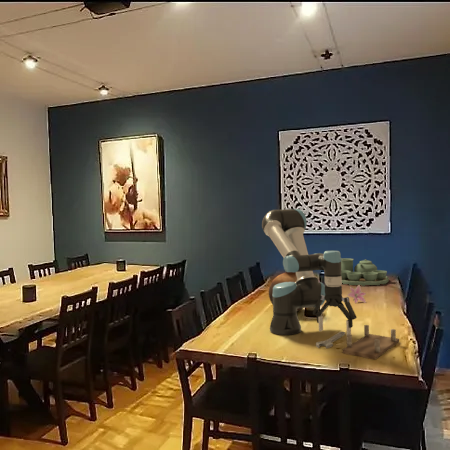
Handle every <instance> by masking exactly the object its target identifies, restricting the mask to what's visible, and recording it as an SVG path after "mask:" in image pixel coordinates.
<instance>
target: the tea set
mask: <svg viewBox="0 0 450 450" xmlns="http://www.w3.org/2000/svg"><path fill="white" fill-rule="evenodd" d="M354 260H355V259H354V258H347V257H346V258H342V257H341V278H342V283H343V284H342V285H344V284H349V285H348V286H350V285H362V286H361V287H366V286H365V285H377V286H381V285H380V284H383V285H386V284H387V283H389V281H390V278H389V277H388V276H387V274H388V271H387V270H381V269H378V267H377V266H376V265H375V264H374V263H373V261H372V260H367V259H362V260H360V261H359V263H357V264H356V265H354Z"/></svg>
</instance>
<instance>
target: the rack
mask: <svg viewBox="0 0 450 450" xmlns="http://www.w3.org/2000/svg"><path fill="white" fill-rule="evenodd" d="M363 330H364V332H363V333H364V336H363V337H361V338H359V339H357V340H356V341H354V342H353V335H352V334H350V335H347V334H346V346H345V347H344V348H343V349H341V350H342V351H341V353H342V354H346V355H351V356H356V357H361V358H365V359H366V358H367V359H370V360H377V359H379V358H380V357H381V356H382V355H384V354H385V353H388V351H390V350H391V349H392V348H393V347H395V346H396V345H397V344H399V343H400V338H396V337H397V333H396V332H397V331H396V330H397V329H394V328H391V329H390V336H384V335H377V334H371V333H370V326H369V325H368V324H365V325H364V327H363Z"/></svg>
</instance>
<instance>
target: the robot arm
mask: <svg viewBox="0 0 450 450" xmlns="http://www.w3.org/2000/svg"><path fill="white" fill-rule="evenodd" d="M307 221H308V220H307V216H306V214H305V212H304V211H303V210H301V209H299V208H298V209H295V208H288V209H287V208H286V209H272V210H269V211H268V212H266V214H265V215H264V217H263V218H262V221H261V228H262V230H263V233H264V234H265V235H266V236H268V237H269V238H270V240H271V241H272V242H273V244H274V246H275V247H276V249H277V250H278V252H279V253H280V255H281V256H282V257H283V260H282V266H283V270H284V271H285V272H296V276H297V281H296V282H283V283H279V284H276V285H275V286H274V287H273V294H272V296H273V305H272V312H273V313H272V319H271V322H270V325H269V332H270V333H272V334H275V335H281V336H289V335H298V334H299V333H301V332H302V326H301V325H302V324H301V322H300V319H299V317H298V311H297V309H298V308H303V309H306V308H314V309H313V311H312V315H313V316H316V323H317V324H318V332H322V331H324V316H323V315H322V314H323V313H324V312H325V311H326V310H327V308H328V307H334V308H338V309H339V310H340V311H341V313H343V315H344V316H345V318H346V323H345V325H346V327H345V328H346V336H347V335H352V328H353V326H354V325H353V321H354V320H356V319H357V318H358V317H357V315H356V312H355V310H354V308H353V306H352V303H351V302H350V296H346V297H343V287H342V285H343V284H342V278H341V259H342V257H341V252H340V251H339V250H325V251H324V252H323V253H321V252H317V253H312V254H309V252H308V249H307V244H306V241H305V237H304V233H305V231H306V228H307V225H308V223H307ZM314 271H323V272H324V273H323V276H324V280H323V281H324V283H323V282H321V281H320V282H319V278H318V277H317V276H316V275H315V274H314ZM343 303H344V304H343ZM321 306H322V307H321Z"/></svg>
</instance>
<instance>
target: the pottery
mask: <svg viewBox="0 0 450 450" xmlns="http://www.w3.org/2000/svg"><path fill="white" fill-rule="evenodd" d="M296 281H297V276H296V272H286V271H285V272H283V273H281V274H279V275H277V276H275V277H274V279H272V281H271V283H270V286H269V288H268V298H269V300H270V303H271V304H272V306H273V296H272V294H273V287H274V286H275V285H276V284H279V283H283V282H296ZM303 309H304V308H298V309H297V312H299V311H301V310H303Z"/></svg>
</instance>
